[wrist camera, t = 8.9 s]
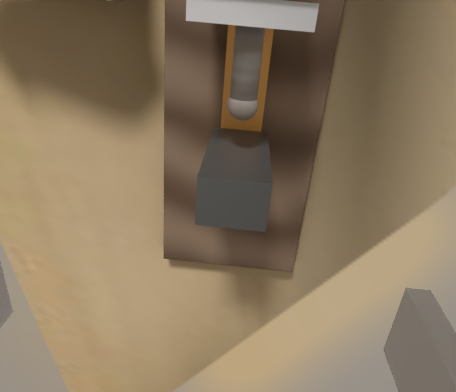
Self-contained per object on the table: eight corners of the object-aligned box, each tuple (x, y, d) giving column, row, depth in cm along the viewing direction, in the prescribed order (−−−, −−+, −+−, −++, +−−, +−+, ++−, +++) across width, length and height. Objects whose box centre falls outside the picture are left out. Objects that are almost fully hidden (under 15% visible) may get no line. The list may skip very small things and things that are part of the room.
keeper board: (170, -76, 26) (112, -128, 15) (351, -60, 25) (417, -103, 15) (167, 249, 37) (133, 342, 27) (290, 262, 37) (304, 361, 27)
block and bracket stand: (208, -5, 25) (182, -9, 17) (299, 3, 25) (322, 3, 16) (199, 176, 31) (176, 245, 22) (272, 183, 31) (279, 255, 22)
